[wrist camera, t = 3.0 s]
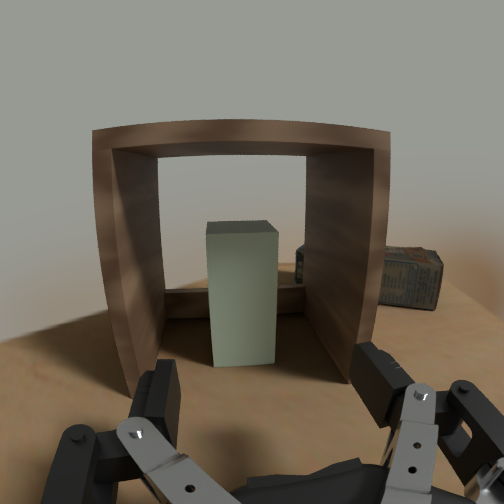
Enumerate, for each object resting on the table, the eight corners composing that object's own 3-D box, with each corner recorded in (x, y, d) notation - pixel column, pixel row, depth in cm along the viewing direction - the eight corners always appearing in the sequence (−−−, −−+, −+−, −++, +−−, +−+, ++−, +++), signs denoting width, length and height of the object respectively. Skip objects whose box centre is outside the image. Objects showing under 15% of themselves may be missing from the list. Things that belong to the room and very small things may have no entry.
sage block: (213, 367, 23) (205, 234, 20) (213, 336, 28) (207, 221, 25) (274, 363, 24) (278, 232, 21) (265, 333, 29) (266, 220, 26)
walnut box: (131, 398, 19) (92, 130, 14) (158, 314, 32) (145, 147, 27) (361, 381, 21) (390, 132, 16) (310, 306, 34) (317, 145, 29)
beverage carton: (308, 274, 46) (310, 232, 44) (431, 291, 38) (438, 246, 36) (292, 293, 39) (294, 243, 37) (438, 314, 31) (448, 262, 29)
